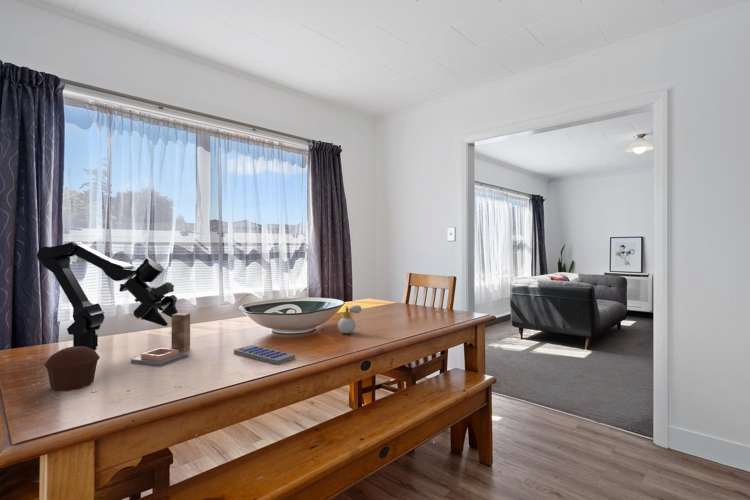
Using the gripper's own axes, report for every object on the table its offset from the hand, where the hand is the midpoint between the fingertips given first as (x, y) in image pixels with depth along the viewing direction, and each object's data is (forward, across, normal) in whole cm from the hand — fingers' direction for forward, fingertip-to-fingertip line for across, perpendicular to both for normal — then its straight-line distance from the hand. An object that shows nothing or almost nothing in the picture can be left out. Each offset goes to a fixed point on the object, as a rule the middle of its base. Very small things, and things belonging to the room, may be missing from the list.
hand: (173, 322), depth 137 cm
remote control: (+31, -5, -16) cm, 35 cm away
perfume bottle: (+50, +29, -35) cm, 68 cm away
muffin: (0, -34, +14) cm, 37 cm away
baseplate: (+8, -10, +6) cm, 14 cm away
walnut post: (+9, 0, +5) cm, 10 cm away
